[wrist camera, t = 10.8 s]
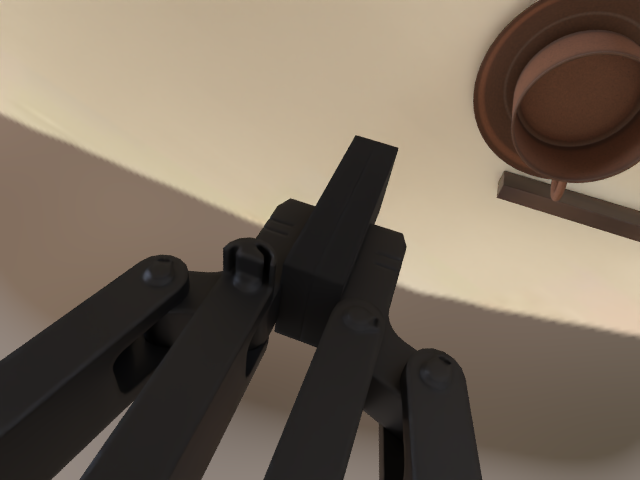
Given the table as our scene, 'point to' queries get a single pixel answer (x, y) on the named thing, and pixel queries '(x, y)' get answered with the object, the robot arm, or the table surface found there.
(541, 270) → the table surface
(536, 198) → the bay
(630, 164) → the cup and saucer
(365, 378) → the robot arm
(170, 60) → the table surface
